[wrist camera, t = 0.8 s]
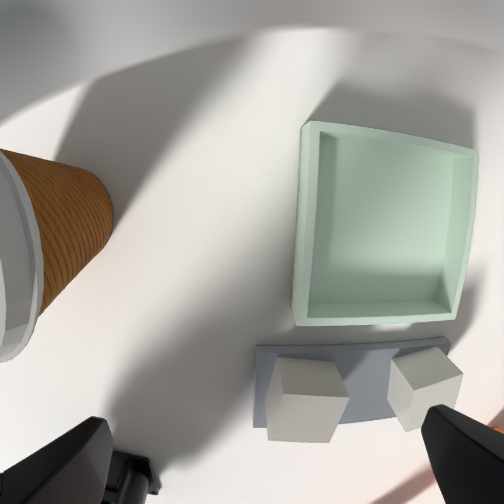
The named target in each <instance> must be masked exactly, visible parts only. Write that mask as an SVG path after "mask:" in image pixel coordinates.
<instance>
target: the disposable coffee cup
mask: <svg viewBox="0 0 504 504" xmlns="http://www.w3.org/2000/svg"><path fill="white" fill-rule="evenodd" d="M112 226H113V209H112V203H111V200H110V196H109V194H108V192H107V190H106V189H105V187H104V185H103V184H102V183H101V181H100V180H99V179H98V178H97V177H96V176H95V175H93V174H92V173H90V172H88V171H86V170H83V169H80V168H77V167H73V166H69V165H65V164H61V163H57V162H53V161H49V160H45V159H41V158H37V157H33V156H29V155H25V154H20V153H16V152H12V151H8V150H4V149H0V363H2V362H7V361H9V360H12V359H13V358H14V357H16V356H17V355H19V354H20V352H21V351H22V350H23V349H24V348H25V346H26V345H27V344H28V342H29V340H30V338H31V336H32V334H33V332H34V327H35V325H36V322H37V319H38V317H39V316H40V315H41V314H42V313H43V312H44V310H45V309H46V308H47V307H48V306H49V305H50V304H51V303H52V301H53V300H54V299H55V298H56V297H57V296H58V295H59V294H60V293H61V291H62V290H63V289H65V287H66V286H67V285H68V284H69V283H70V282H71V281H72V280H73V279H74V278H75V277H76V276H77V274H78V273H79V272H80V271H81V270H82V269H83V268H84V267H85V266H86V265H87V264H88V263H89V262H90V261H91V260H92V259H93V258H94V257H95V256H96V255H97V254H98V253H99V252H100V251H101V250H102V249H103V248H104V246H105V245H106V243H107V242H108V239H109V237H110V234H111V231H112Z"/></svg>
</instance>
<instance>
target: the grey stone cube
mask: <svg viewBox="0 0 504 504" xmlns="http://www.w3.org/2000/svg"><path fill="white" fill-rule="evenodd" d="M349 398H350V397H349V394H348V392H347V390H346V388H345V385H344V383H343V381H342V378H341V376H340V374H339V372H338V369H337V367H336V365H335V363H334V362H329V361H318V360H308V359H298V358H289V357H280V356H277V358H276V362H275V366H274V370H273V373H272V377H271V381H270V385H269V388H268V392H267V396H266V399H265V408H266V420H267V431H268V440H270V441H285V442H309V443H329V442H330V440H331V438H332V436H333V434H334V432H335V429H336V427H337V425H338V423H339V421H340V419H341V416H342V414H343V412H344V410H345V407H346V405H347V403H348V401H349Z"/></svg>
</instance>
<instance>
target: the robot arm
mask: <svg viewBox="0 0 504 504" xmlns="http://www.w3.org/2000/svg"><path fill="white" fill-rule="evenodd" d="M421 433H422V437H423V440H424V443H425V447H426V450H427V453H428V457H429V460H430V464H431V467H432V470H433V473H434V476H435V478H436V481H437V483H438V486H439V488H440V490H441V493H442V495H443V498H444V500H445V503H446V504H504V434H503V433H501V432H499V431H497V430H495V429H493V428H490V427H488V426H486V425H484V424H482V423H480V422H478V421H476V420H474V419H472V418H470V417H468V416H466V415H464V414H462V413H460V412H458V411H456V410H454V409H452V408H450V407H448V406H446V405H444V404H438V405H435V406H431V407H430V408H429V409H428V411H427V414H426V416H425V419H424V422H423V424H422V427H421ZM113 444H114V441H113V437H112V434H111V431H110V429H109V426H108V423H107V421H106V420H105V419H104V418H101V417H95V416H91V417H89V418H88V419H86V420H85V421H83V422H82V423H80V424H79V425H77V426H75V427H74V428H72V429H71V430H69V431H68V432H66V433H65V434H63V435H62V436H60V437H58V438H57V439H55V440H54V441H52V442H51V443H49V444H47V445H46V446H44V447H43V448H41V449H39V450H38V451H36V452H35V453H33V454H31V455H30V456H28V457H27V458H25V459H23V460H22V461H20V462H18V463H17V464H15V465H13V466H12V467H10V468H8V469H7V470H5V471H4V472H3V473H0V504H145V501H146V497H147V494H152V495H158V492H159V490H158V487H157V484H156V480H155V477H154V474H153V470H152V467H151V463H150V461H149V459H147V458H144V457H139V456H133V455H128V454H122V453H117V452H113V451H112V450H113Z"/></svg>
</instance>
